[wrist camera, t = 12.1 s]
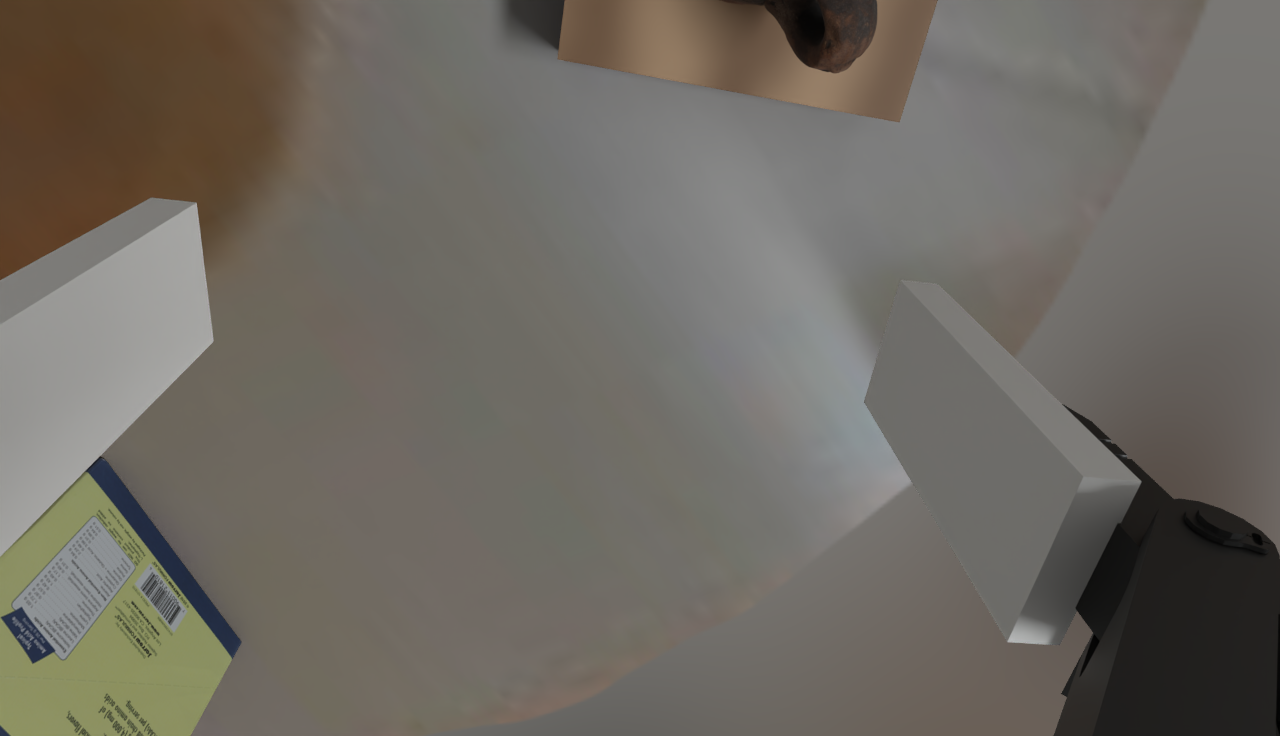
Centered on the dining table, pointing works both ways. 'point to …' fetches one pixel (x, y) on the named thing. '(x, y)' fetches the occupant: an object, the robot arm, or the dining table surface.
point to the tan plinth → (746, 50)
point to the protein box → (104, 623)
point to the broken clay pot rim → (824, 29)
